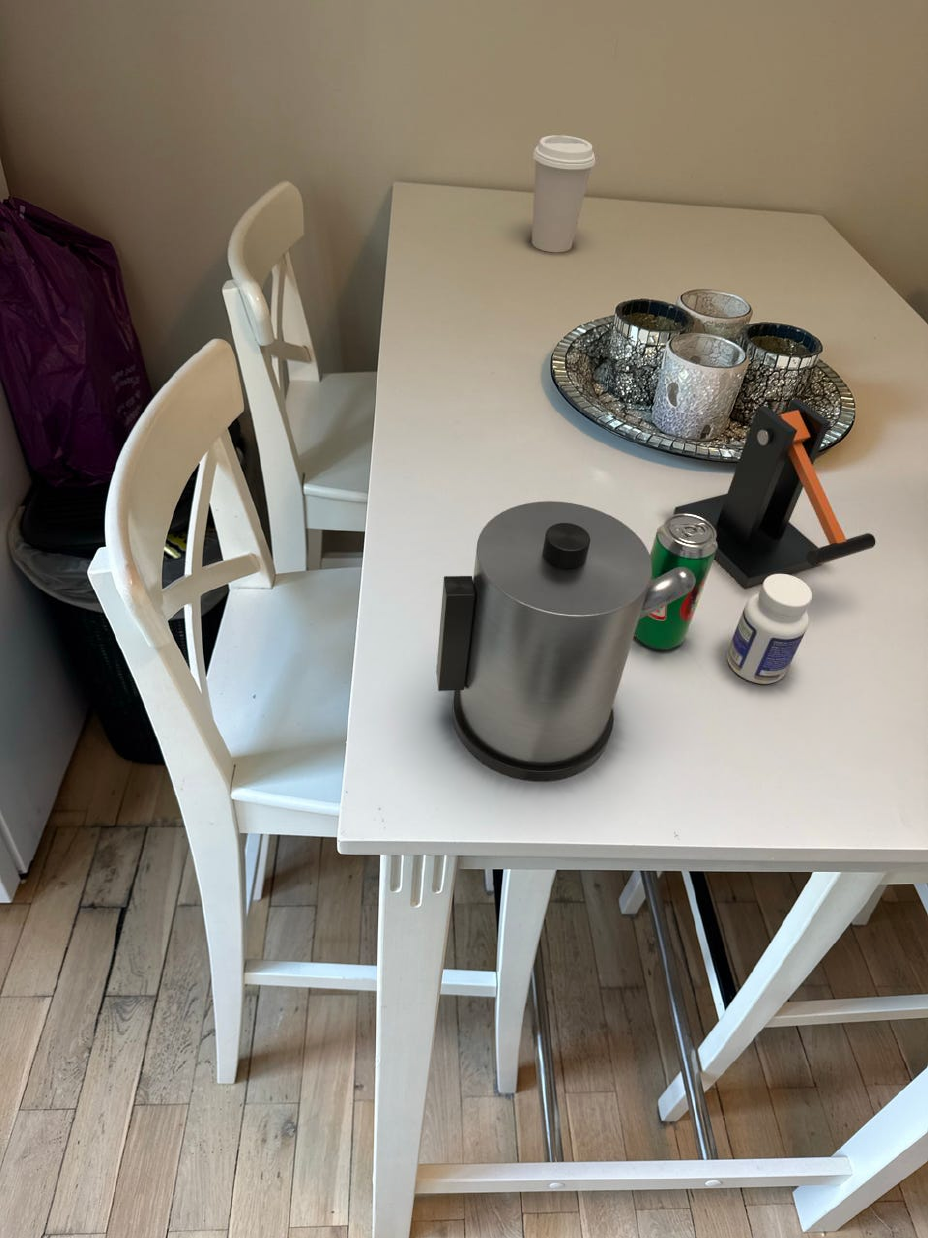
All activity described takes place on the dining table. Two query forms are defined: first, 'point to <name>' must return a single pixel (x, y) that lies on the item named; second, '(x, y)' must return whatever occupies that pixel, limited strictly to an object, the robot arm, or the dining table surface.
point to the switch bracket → (763, 500)
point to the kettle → (545, 635)
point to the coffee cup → (559, 190)
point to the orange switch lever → (821, 502)
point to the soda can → (673, 547)
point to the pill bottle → (770, 629)
